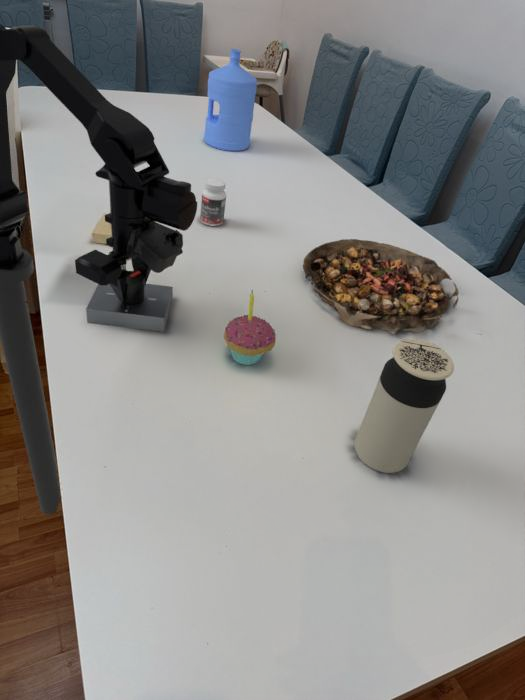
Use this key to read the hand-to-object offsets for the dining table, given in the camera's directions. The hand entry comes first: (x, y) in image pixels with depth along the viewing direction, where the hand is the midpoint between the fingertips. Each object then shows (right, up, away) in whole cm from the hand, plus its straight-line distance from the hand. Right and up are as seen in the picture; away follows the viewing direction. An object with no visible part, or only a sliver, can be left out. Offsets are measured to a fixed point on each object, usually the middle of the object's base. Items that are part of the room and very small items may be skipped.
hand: (131, 294), depth 87 cm
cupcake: (+20, -11, -3) cm, 23 cm away
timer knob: (0, 0, 0) cm, 0 cm away
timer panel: (-1, -3, +2) cm, 4 cm away
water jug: (+11, +61, +83) cm, 104 cm away
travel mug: (+40, -25, -15) cm, 49 cm away
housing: (-7, +16, +23) cm, 29 cm away
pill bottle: (+10, +22, +35) cm, 43 cm away
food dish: (+48, +4, +21) cm, 53 cm away
